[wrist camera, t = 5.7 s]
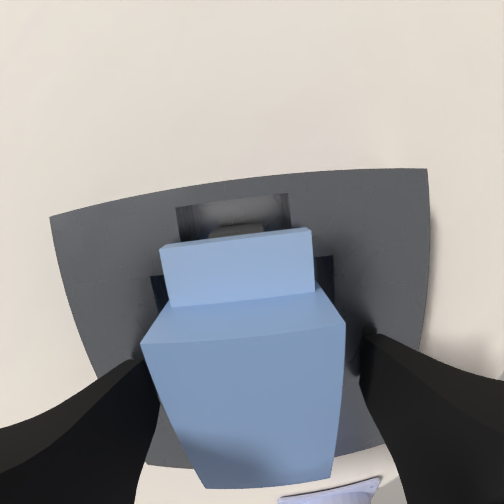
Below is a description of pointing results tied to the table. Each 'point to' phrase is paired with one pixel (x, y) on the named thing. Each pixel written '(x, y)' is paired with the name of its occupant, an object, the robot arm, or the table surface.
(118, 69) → the table surface
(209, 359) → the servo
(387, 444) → the robot arm
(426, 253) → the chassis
